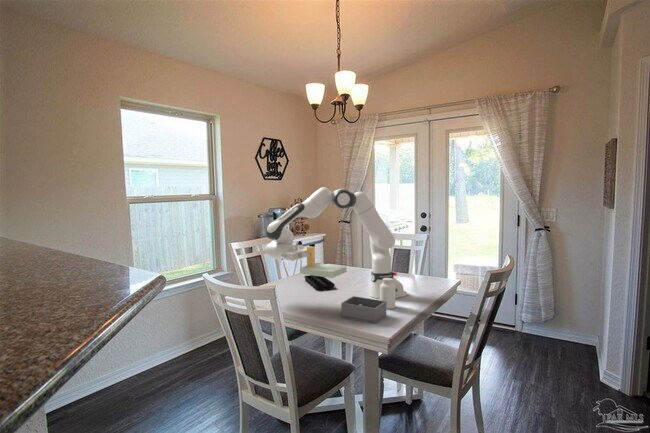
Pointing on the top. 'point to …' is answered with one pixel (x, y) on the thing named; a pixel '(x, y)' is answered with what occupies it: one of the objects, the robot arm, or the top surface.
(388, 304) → the pill bottle
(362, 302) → the tub
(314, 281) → the black compartment tray
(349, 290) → the top surface
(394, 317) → the top surface
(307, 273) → the lid
